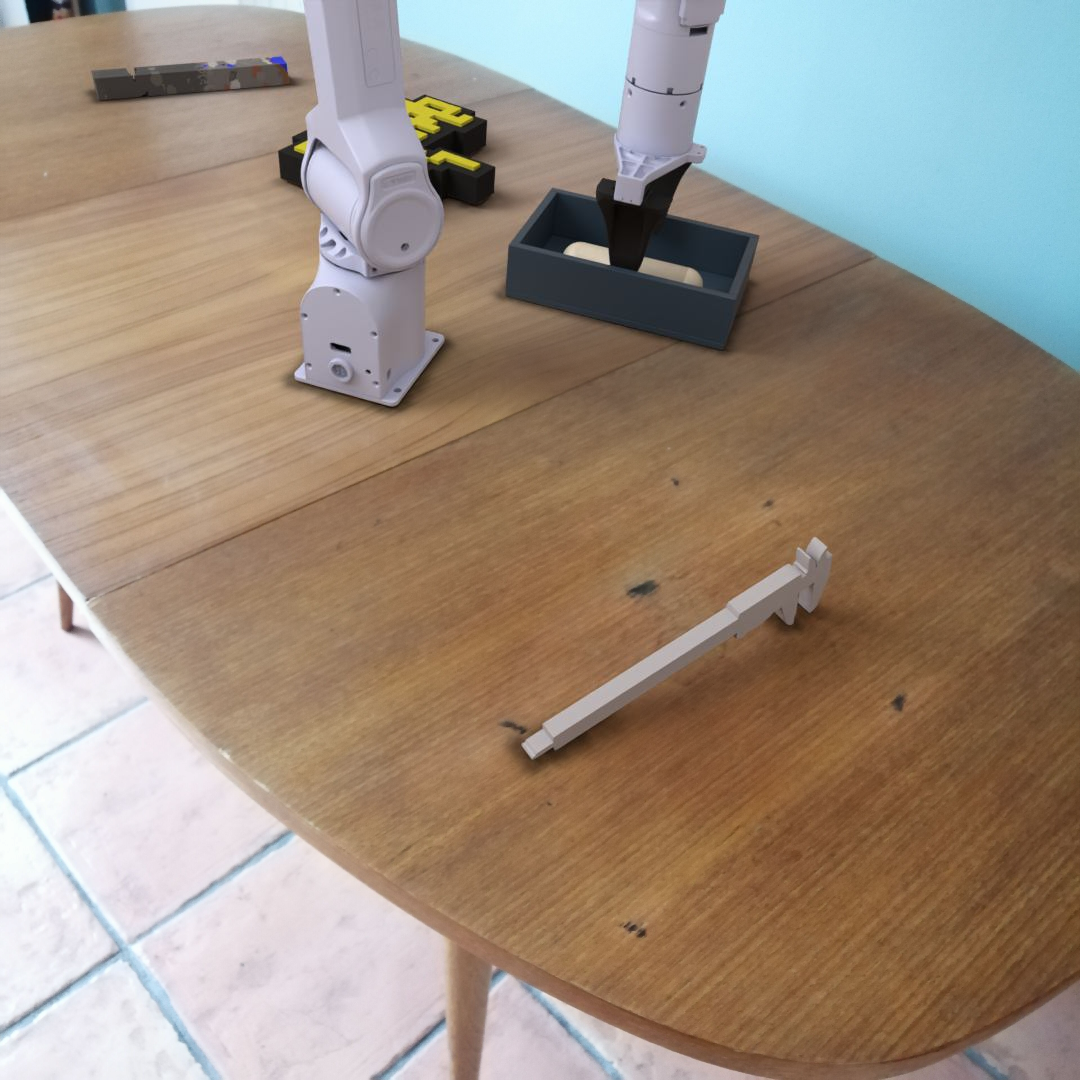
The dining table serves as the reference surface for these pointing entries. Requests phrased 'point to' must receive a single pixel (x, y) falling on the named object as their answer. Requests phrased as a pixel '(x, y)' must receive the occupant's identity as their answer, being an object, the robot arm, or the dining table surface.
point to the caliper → (695, 645)
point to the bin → (631, 272)
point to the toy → (430, 150)
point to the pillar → (190, 77)
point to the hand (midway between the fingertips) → (635, 250)
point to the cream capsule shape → (646, 267)
